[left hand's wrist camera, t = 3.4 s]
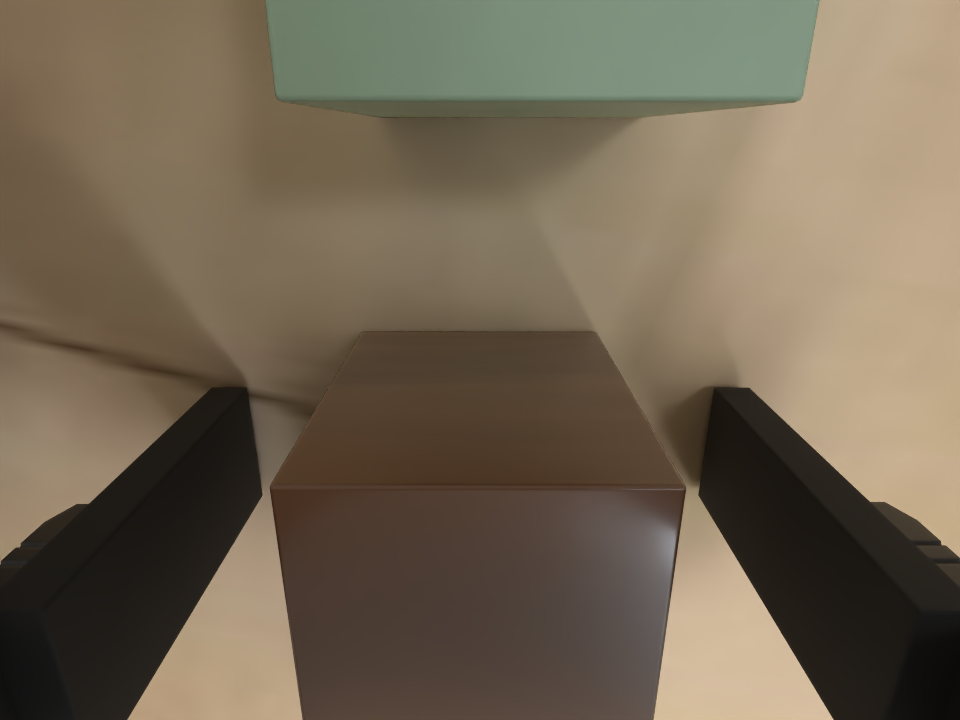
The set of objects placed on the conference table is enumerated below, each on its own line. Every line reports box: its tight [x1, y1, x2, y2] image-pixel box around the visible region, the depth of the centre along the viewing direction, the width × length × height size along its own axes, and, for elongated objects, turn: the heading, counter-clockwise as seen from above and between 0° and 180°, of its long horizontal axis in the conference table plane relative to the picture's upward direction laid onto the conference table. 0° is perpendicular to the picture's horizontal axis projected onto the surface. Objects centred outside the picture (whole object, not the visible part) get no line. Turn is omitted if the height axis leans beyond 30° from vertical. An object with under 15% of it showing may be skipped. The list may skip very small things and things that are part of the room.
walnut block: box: [270, 332, 686, 720], centre depth 11 cm, size 5×5×6 cm
